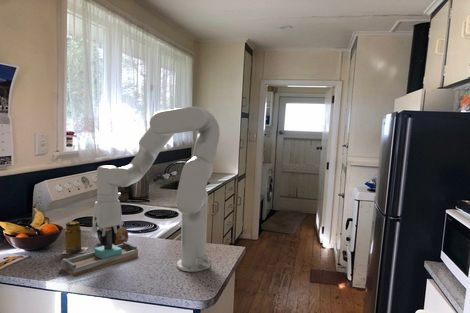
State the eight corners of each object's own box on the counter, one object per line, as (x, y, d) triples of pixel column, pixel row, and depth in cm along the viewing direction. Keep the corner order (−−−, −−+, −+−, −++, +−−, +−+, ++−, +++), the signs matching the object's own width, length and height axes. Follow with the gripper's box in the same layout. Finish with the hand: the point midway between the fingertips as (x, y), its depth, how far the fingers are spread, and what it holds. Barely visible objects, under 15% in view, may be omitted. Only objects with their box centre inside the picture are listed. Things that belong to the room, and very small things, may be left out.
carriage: (122, 255, 139) (121, 231, 138) (105, 261, 133) (105, 235, 132) (110, 250, 144) (110, 226, 143) (94, 255, 138) (94, 230, 138)
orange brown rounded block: (97, 243, 158) (96, 224, 157) (101, 240, 161) (101, 222, 160) (125, 247, 153) (125, 228, 152) (129, 245, 156) (129, 226, 155)
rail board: (138, 256, 143) (138, 247, 143) (74, 276, 123) (74, 266, 123) (123, 250, 150) (123, 241, 149) (61, 268, 130) (61, 258, 130)
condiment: (68, 247, 151) (67, 220, 150) (88, 247, 152) (88, 220, 151) (61, 254, 144) (60, 225, 143) (83, 254, 145) (82, 225, 144)
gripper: (121, 193, 145) (121, 237, 147) (82, 199, 133) (83, 246, 134) (131, 196, 140) (131, 241, 142) (92, 202, 128) (92, 251, 130)
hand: (108, 243), depth 138 cm, fingers closed on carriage, 3 cm apart
